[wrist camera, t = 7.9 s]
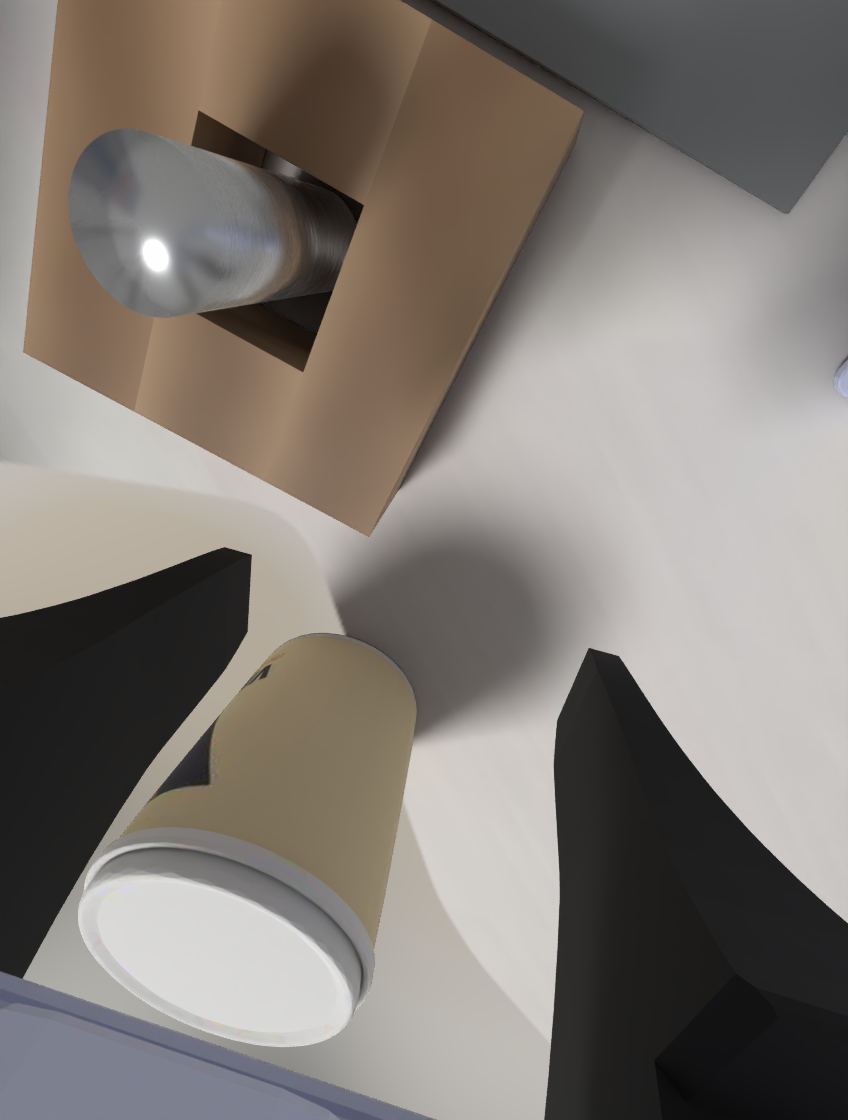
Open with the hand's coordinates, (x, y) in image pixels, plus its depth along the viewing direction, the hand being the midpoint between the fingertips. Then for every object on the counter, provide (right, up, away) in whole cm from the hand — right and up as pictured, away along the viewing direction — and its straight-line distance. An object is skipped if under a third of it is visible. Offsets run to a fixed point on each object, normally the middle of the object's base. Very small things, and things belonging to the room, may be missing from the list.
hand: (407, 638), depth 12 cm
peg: (-3, +12, +6) cm, 14 cm away
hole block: (-3, +12, +7) cm, 14 cm away
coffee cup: (-4, -5, +16) cm, 17 cm away
